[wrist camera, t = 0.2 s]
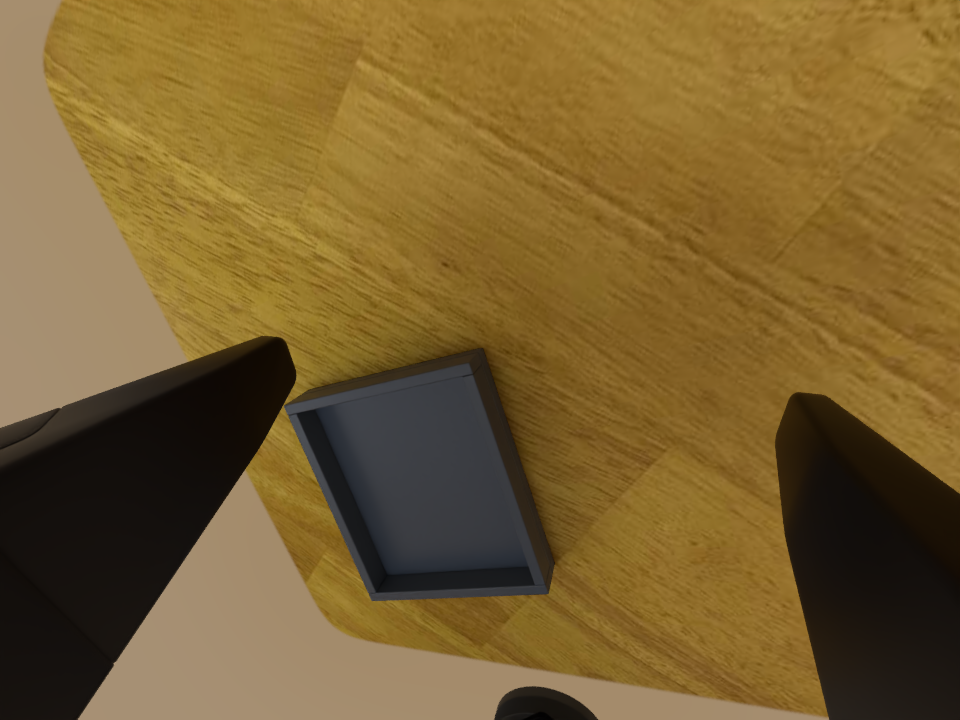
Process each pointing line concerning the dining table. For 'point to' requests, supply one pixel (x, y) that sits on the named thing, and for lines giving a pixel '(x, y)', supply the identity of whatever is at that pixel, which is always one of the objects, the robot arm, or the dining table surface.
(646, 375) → the dining table surface
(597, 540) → the dining table surface
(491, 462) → the holder
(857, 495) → the robot arm
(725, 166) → the dining table surface
